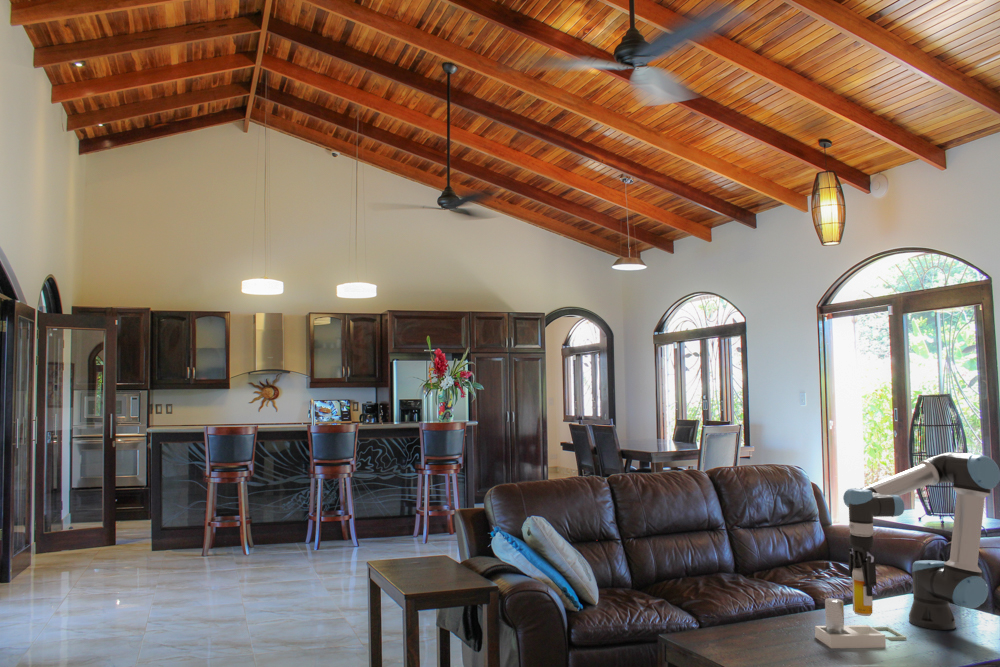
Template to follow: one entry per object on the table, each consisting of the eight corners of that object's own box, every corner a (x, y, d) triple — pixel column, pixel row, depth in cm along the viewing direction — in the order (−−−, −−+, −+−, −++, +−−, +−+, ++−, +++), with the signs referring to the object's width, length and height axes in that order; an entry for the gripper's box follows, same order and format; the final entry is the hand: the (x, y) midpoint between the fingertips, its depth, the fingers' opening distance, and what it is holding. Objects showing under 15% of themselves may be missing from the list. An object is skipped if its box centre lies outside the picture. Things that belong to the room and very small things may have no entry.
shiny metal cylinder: (839, 639, 261) (837, 598, 262) (847, 645, 255) (846, 603, 256) (822, 639, 261) (821, 598, 262) (831, 645, 255) (830, 603, 256)
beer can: (874, 617, 256) (873, 572, 257) (855, 615, 257) (854, 571, 258) (869, 611, 262) (868, 568, 263) (851, 610, 263) (850, 567, 264)
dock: (867, 638, 265) (867, 624, 265) (885, 648, 254) (885, 635, 254) (815, 639, 263) (815, 625, 264) (831, 650, 252) (831, 636, 253)
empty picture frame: (887, 629, 274) (887, 626, 274) (906, 639, 263) (906, 636, 263) (858, 630, 273) (858, 627, 273) (875, 640, 262) (875, 637, 262)
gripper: (836, 529, 271) (837, 594, 269) (866, 540, 252) (867, 610, 250) (856, 529, 271) (858, 594, 269) (887, 540, 252) (889, 610, 250)
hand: (862, 602), depth 260 cm, fingers closed on beer can, 6 cm apart
